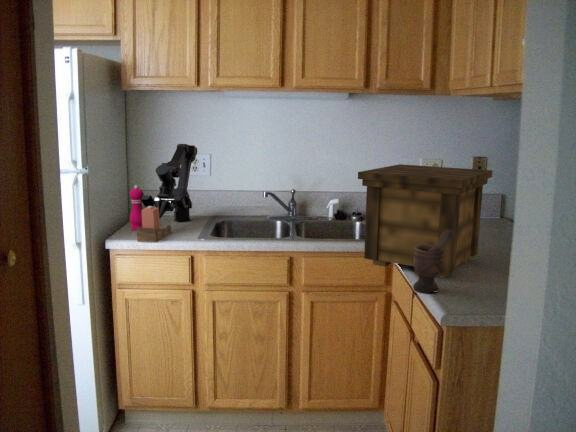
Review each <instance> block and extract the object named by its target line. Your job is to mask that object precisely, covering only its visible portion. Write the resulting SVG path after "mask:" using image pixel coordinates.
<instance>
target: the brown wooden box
mask: <svg viewBox="0 0 576 432" xmlns="http://www.w3.org/2000/svg"><path fill="white" fill-rule="evenodd" d="M171 234H172V225H171V224H168V225H165V226H160V230H159V231H157V228H137V230H136V239H137V242H139V243H143V242H144V243H158V242H159V241H161V240H162V239H164V238H165V237H167V236H168V235H171Z"/></svg>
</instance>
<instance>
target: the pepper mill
mask: <svg viewBox="0 0 576 432" xmlns="http://www.w3.org/2000/svg"><path fill="white" fill-rule="evenodd" d="M143 195H144V191H143V190H142V189H141V188H139V186H138V185H137V184H134V186H133V188H132V189H130V191H129V197H130V198H131V199H130V202H131V204H132V207H131V212H130V215H129V223H130V224H131V225H130V230H131V231H137V228H142V209H143V203H142V201H141V198H142V196H143Z"/></svg>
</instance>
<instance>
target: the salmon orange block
mask: <svg viewBox="0 0 576 432" xmlns="http://www.w3.org/2000/svg"><path fill="white" fill-rule="evenodd" d="M160 227H161V225H160V218H159V208H156V207H154V206H148V207H145V208H142V228H157V231H159V230H160Z"/></svg>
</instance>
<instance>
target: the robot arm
mask: <svg viewBox="0 0 576 432" xmlns="http://www.w3.org/2000/svg"><path fill="white" fill-rule="evenodd" d="M197 155H198V147H196V145H191V144H190V145H189V144H187V143H178V144H177V145H176V150H175V151H174V153H173V155H172V157H171V160H170V161H167V162H161V164H160V165H158V166H157V167H156V168H155V173H156V175H157V177H158V179H159V181H160V182H161V185H160V186H158V187H159V193H157V194H156V197H154V198H153V197H152V195H148V194H147V195H143V196H142V198H141V201H142V205H143V206H144V207H145V208H147V207H148V206H153V207H154V208H159V219H161V218H162V217H163V216H164V215H165V214H166V212H173V211H174V212H173V218H174V219H173V220H174V221H175V222H178V223H181V222H191V221H192V219H190V215H191V214H190V209H193V202H192V200H191V198H190V193H189V191H188V187H189V186H188V185H189V180H190V173H191V167H192V163H193V162H194V161H195V160H196V158H197ZM175 178H177V179H178V181H177V180H176V179H175ZM176 182H177V183H176ZM176 186H177V187H176ZM175 187H176V188H175Z"/></svg>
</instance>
